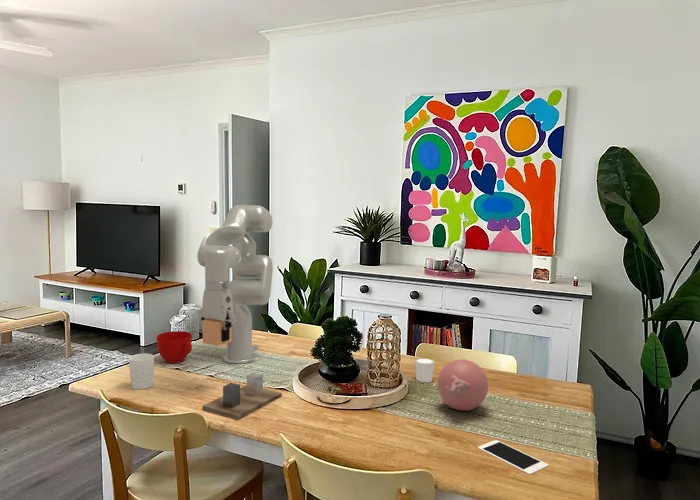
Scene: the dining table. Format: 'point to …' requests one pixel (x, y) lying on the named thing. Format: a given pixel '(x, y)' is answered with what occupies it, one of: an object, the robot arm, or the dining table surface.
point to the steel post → (254, 384)
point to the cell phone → (513, 457)
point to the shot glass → (424, 369)
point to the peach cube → (214, 332)
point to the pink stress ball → (462, 384)
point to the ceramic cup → (174, 345)
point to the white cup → (141, 370)
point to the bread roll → (331, 389)
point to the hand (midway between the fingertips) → (217, 338)
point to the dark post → (231, 395)
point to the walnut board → (242, 403)
